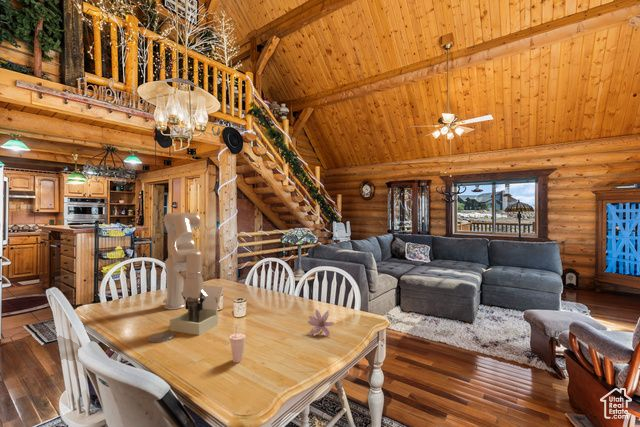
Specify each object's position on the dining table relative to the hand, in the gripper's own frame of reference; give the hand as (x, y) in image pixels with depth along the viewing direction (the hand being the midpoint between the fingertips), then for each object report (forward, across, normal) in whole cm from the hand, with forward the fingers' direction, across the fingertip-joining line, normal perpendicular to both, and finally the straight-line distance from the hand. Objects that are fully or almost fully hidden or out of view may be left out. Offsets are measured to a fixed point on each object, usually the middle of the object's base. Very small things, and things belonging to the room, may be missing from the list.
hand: (193, 309), depth 155 cm
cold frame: (+9, +1, +2) cm, 10 cm away
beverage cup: (+7, 0, 0) cm, 7 cm away
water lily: (+8, +65, +12) cm, 66 cm away
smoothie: (+8, +42, -22) cm, 48 cm away
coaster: (+9, -5, -16) cm, 19 cm away
